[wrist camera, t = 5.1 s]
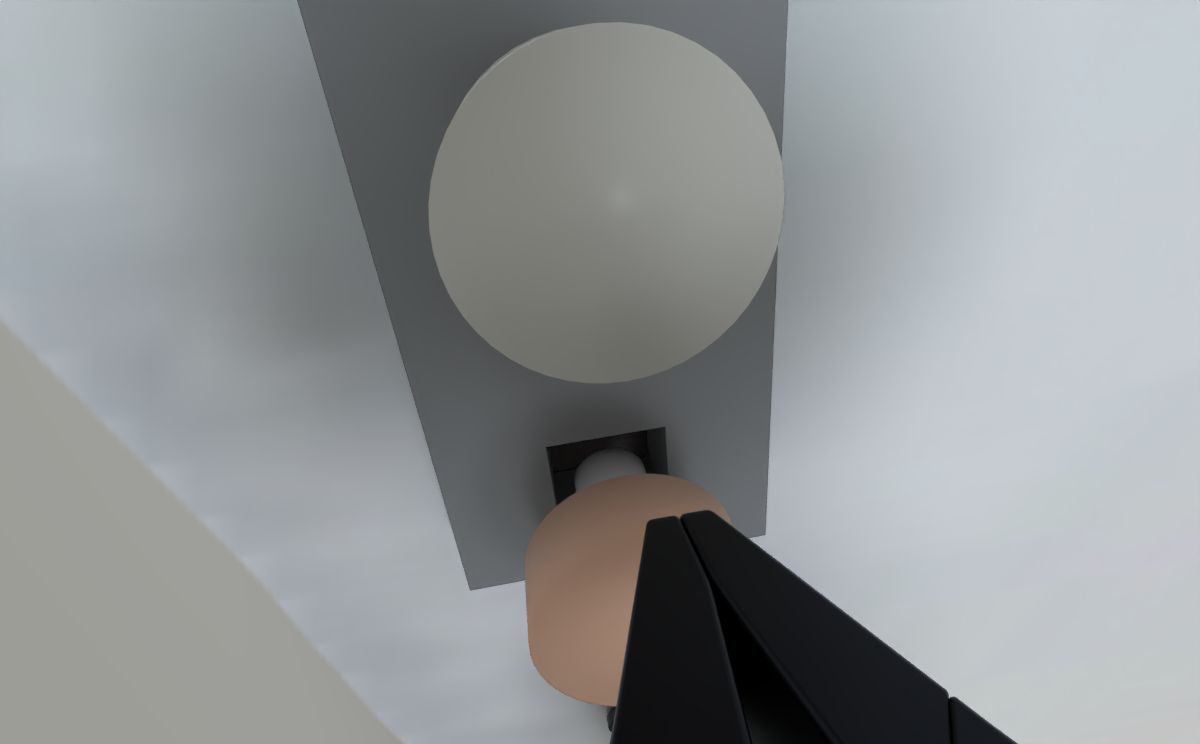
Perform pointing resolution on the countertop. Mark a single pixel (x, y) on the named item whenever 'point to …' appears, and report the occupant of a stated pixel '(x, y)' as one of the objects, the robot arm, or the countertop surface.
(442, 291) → the knob strip
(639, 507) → the knob
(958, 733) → the robot arm
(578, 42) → the knob middle
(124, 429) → the countertop surface
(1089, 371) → the countertop surface
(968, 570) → the countertop surface
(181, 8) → the countertop surface
